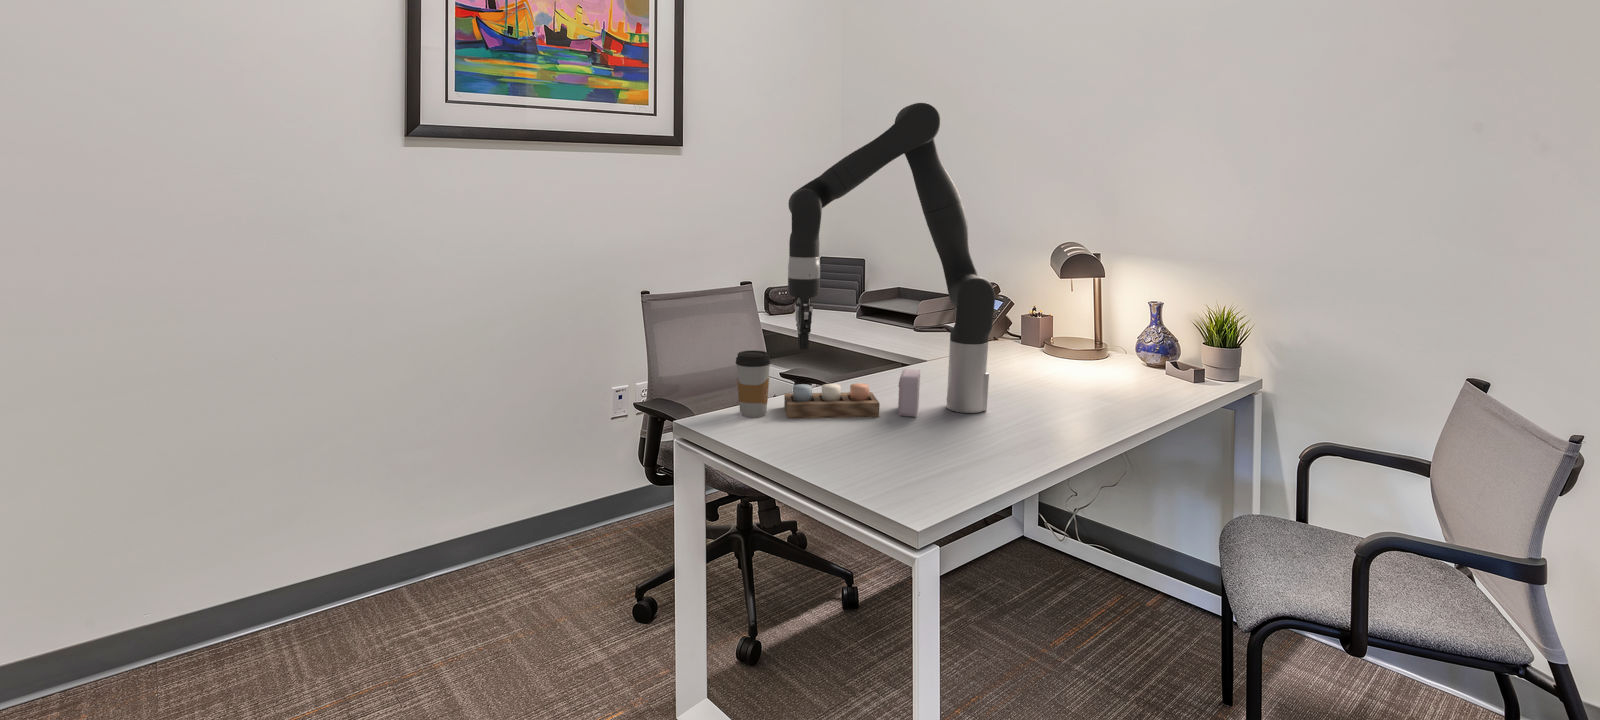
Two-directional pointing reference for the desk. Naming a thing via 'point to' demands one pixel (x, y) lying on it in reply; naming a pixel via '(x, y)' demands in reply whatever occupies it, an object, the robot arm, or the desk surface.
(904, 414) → the electronic device
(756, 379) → the coffee cup
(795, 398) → the light blue rounded block
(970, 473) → the desk surface
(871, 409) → the brown wooden tray
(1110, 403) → the desk surface
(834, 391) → the cream key
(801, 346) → the robot arm
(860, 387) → the pink rounded block
